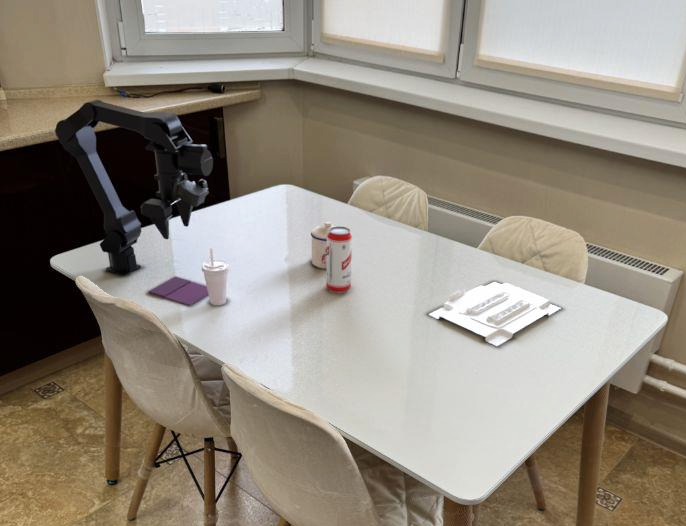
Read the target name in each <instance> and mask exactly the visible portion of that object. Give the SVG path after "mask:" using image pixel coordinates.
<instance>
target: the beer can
mask: <svg viewBox="0 0 686 526" xmlns="http://www.w3.org/2000/svg"><path fill="white" fill-rule="evenodd" d="M329 231H330V232H329V234H328V235H327V269H326V271H325V272H326V277H325V279H326V280H325V281H326V283H325V285H326V288H327V290H328V291H329V292H331V293H333V294H345V293H347V292H348V291H349V290H350V289H351V286H352V260H353V259H352V258H353V255H352V253H353V235H352V234H351V229H350V228H348V227H345V226H340V225H339V226H335V227H332V228H330V230H329Z"/></svg>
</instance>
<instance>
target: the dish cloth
mask: <svg viewBox="0 0 686 526" xmlns="http://www.w3.org/2000/svg"><path fill="white" fill-rule="evenodd" d="M148 293H149V294H151V295H154V296H157V297H162V298H164V299H168V300H171V301H174V302H178V303H179V304H183V305H186V306H193V305H194V304H195V303H197V302H199V301H200V300H203V299H204V298H205V297H207V296H209V294H208V290H207V285H203V284H199V283H196V282H192V281H191V280H188V279H185V278H181V277H179V276H174V277H172V278H170V279H168V280H166V281H164V282H163V283H160V284H159V285H157V286H155V287H153V288H151V289H149V290H148Z"/></svg>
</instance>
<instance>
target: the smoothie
mask: <svg viewBox="0 0 686 526" xmlns="http://www.w3.org/2000/svg"><path fill="white" fill-rule="evenodd" d="M213 250H214V249H213V247H210V248H209V252H210V260H207V261H205V262H203V263H202V264H201V272H202V273H203V276H204V281H205V286H206V287H207V290H208V294H209V295H208V298H209V303H210V304H211V305H213V306H222V305H225V304H226V302H227V287H228V286H227V284H228V272H229V270H230V268H229V262H226V261H224V260H219V259H214V251H213Z"/></svg>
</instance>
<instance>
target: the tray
mask: <svg viewBox="0 0 686 526" xmlns="http://www.w3.org/2000/svg"><path fill="white" fill-rule="evenodd" d="M561 309H562V308H561V307H559V306H557V305H555V304H552V303H551V300H550V299H548V298H545V297H543V296H541V295H538V294H535V293H533V292H530V291H528V290H526V289H523V288H521V287H518V286H515V285H513V284H510V283H507V282H504V283H502V284H501V283H499V282H497V281H493V282H491V283H489V284H487V285H483V284H481V285H478V286H477V287H475V288H473V289H470V290H468V291H467V289H459V290H455V291H453V292H452V293H451V296H449V300H448V301H446V302H444V303H443V306H442V307H440V308H439V309H436V310H434V311H432V312H430V313H428V315H429V316H430V317H433V318H435V319H437V320H439V319H441V318H443V319H445V320H447V321H449V322H451V323H454V324H456V325H458V326H460V327H462V328H464V329H467V330H469V331H471V332H473V333H475V334H477V335H480V336H482V337H485V339H484V340H485V342H486V343H488V344H491V345H493V346H496V347H498V346H500V345H502V344H504V343H505V342H508V340H510V339H512V338H513V335H514V334H515V333H517V332H519V331H520V330H522V329H523V328H525V327H527V326H528V325H531V324H532V323H534V322H536V321H537V320H539V319H540V318H542V317H544V316H545V315H546V316H551V315H553V314H555V313H556V312H557V311H560V310H561Z"/></svg>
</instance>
